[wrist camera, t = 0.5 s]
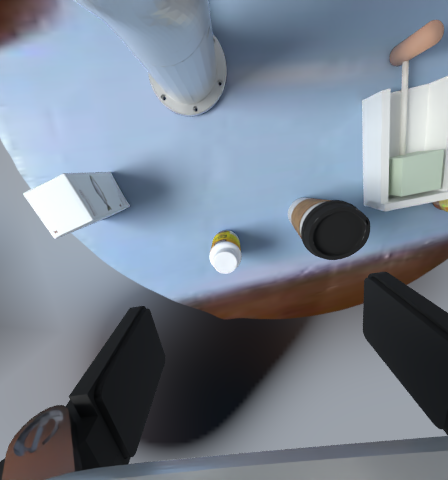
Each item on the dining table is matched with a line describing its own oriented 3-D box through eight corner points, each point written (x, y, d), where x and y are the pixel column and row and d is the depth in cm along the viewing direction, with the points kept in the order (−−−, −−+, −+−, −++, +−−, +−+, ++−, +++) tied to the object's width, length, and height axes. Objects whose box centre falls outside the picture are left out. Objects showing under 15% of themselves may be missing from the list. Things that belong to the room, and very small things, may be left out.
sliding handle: (379, 49, 34) (409, 26, 28) (419, 39, 34) (458, 13, 28) (378, 192, 41) (402, 196, 35) (411, 185, 41) (441, 188, 35)
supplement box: (131, 206, 43) (94, 221, 31) (100, 220, 44) (52, 240, 32) (111, 170, 41) (63, 172, 29) (79, 186, 42) (19, 194, 30)
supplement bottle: (227, 223, 44) (227, 240, 34) (245, 243, 45) (249, 264, 35) (207, 241, 45) (201, 261, 35) (224, 259, 46) (223, 284, 37)
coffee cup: (331, 220, 43) (381, 247, 29) (291, 240, 45) (321, 274, 30) (315, 182, 41) (361, 190, 27) (273, 204, 42) (296, 223, 28)
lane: (362, 100, 37) (386, 88, 31) (431, 83, 36) (470, 68, 30) (363, 205, 42) (384, 211, 36) (423, 193, 41) (455, 197, 36)
